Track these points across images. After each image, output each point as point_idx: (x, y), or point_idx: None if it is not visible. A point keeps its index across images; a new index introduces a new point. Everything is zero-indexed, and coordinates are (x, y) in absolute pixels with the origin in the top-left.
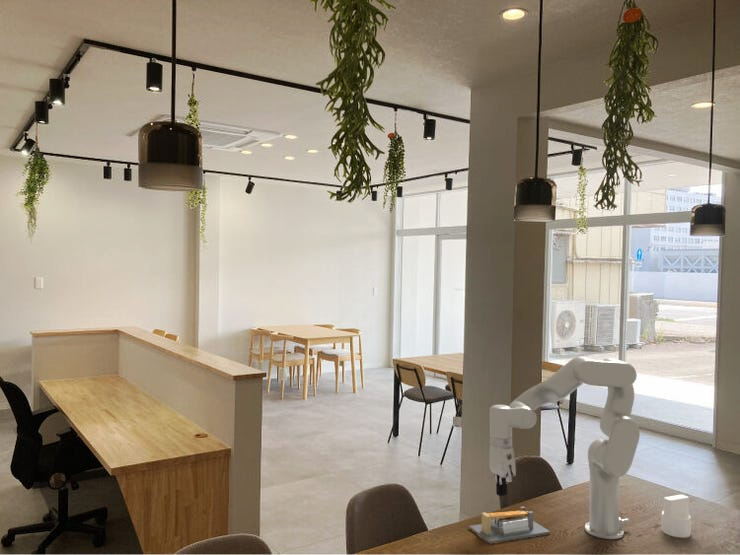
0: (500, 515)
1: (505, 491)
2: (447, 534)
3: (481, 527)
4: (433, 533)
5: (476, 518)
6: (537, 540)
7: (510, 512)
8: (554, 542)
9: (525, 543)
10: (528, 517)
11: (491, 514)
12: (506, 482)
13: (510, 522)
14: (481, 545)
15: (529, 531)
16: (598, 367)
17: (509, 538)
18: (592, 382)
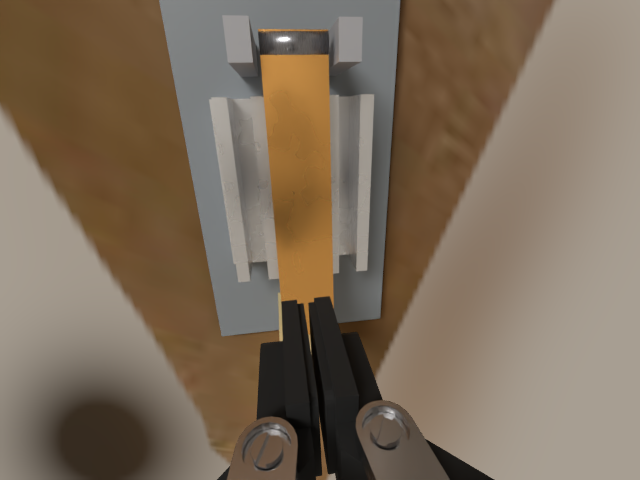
0: (330, 278)
1: (359, 345)
2: (256, 405)
3: (250, 297)
4: (237, 438)
5: (105, 258)
6: (425, 95)
7: (291, 188)
8: (480, 16)
9: (426, 172)
10: (341, 67)
11: (307, 322)
12: (443, 462)
13: (368, 227)
14: (372, 336)
15: (359, 93)
16: None
17: (384, 231)
18: None
